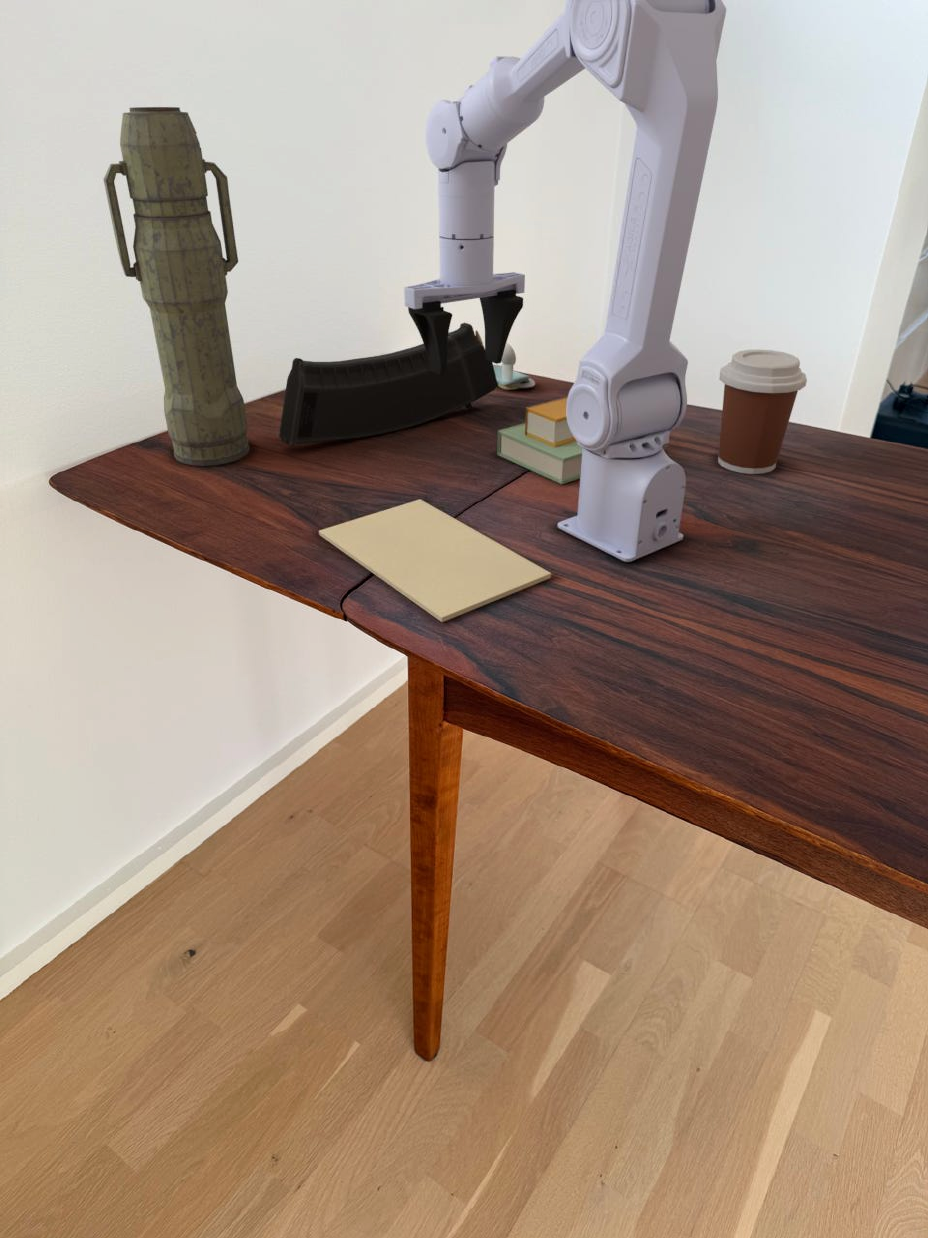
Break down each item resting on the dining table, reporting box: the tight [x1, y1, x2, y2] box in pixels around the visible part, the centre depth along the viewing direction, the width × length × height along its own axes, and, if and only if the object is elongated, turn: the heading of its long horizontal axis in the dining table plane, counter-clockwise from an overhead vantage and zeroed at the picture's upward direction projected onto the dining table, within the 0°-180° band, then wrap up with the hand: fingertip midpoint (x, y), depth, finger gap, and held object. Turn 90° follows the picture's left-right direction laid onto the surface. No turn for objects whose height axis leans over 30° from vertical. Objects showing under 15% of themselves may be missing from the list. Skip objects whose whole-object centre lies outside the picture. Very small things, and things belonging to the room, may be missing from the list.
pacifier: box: [493, 342, 536, 391], centre depth 121 cm, size 7×6×6 cm
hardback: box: [496, 422, 583, 485], centre depth 99 cm, size 16×11×3 cm
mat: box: [318, 498, 552, 623], centre depth 78 cm, size 20×12×1 cm, turn 38°
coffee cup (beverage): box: [717, 349, 808, 475], centre depth 94 cm, size 9×9×12 cm
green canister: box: [103, 106, 250, 467], centre depth 91 cm, size 9×12×35 cm
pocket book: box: [524, 396, 576, 447], centre depth 98 cm, size 13×5×3 cm, turn 128°
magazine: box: [278, 322, 498, 446], centre depth 105 cm, size 17×3×30 cm
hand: (466, 366), depth 96 cm, fingers open, 7 cm apart
